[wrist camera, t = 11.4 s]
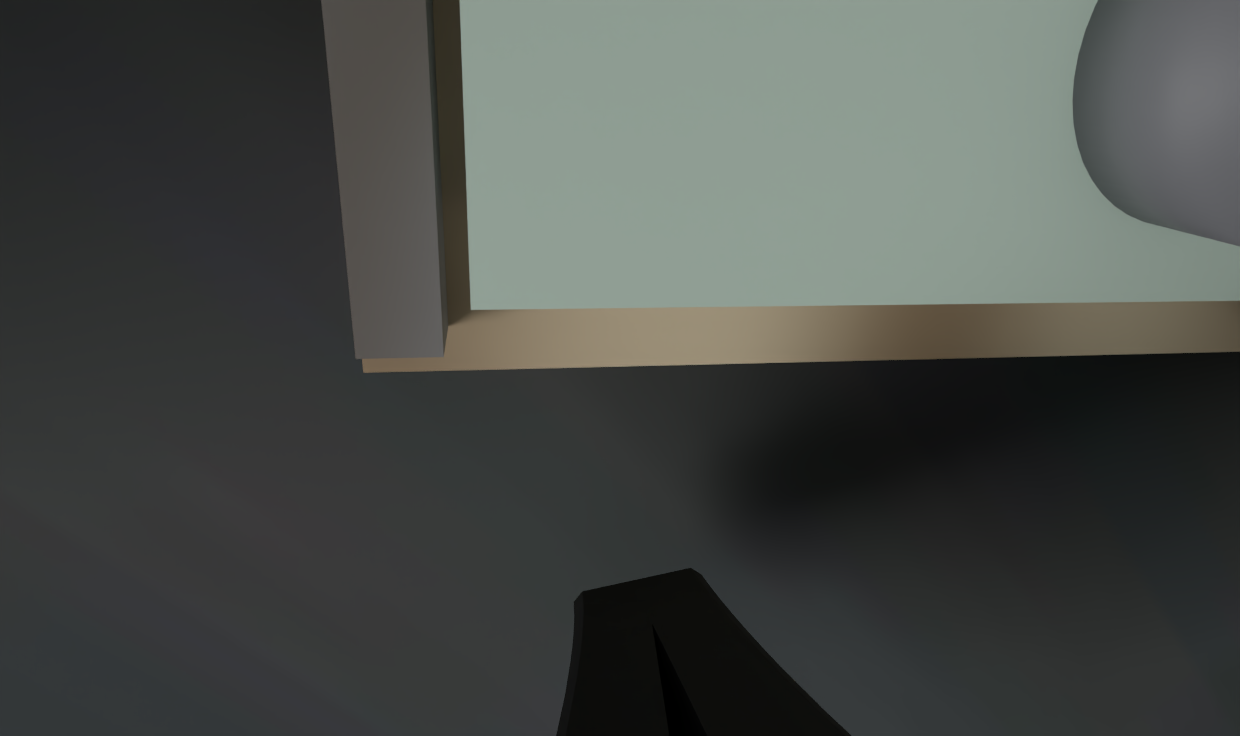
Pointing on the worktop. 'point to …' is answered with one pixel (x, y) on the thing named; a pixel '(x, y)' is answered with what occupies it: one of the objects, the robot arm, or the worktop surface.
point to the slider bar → (850, 152)
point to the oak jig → (612, 337)
